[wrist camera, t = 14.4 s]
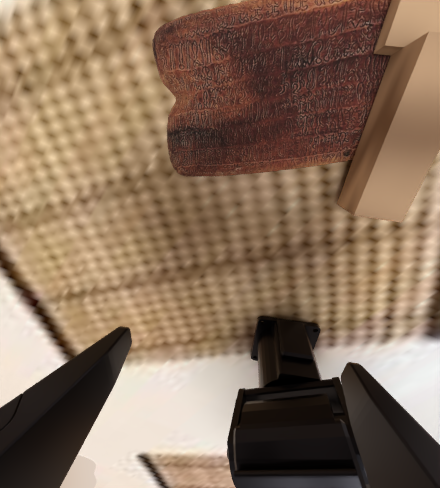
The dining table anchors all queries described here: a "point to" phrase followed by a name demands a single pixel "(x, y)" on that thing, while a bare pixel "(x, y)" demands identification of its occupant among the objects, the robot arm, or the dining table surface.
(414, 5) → the tan paddle
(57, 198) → the dining table surface
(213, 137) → the wooden tablet
